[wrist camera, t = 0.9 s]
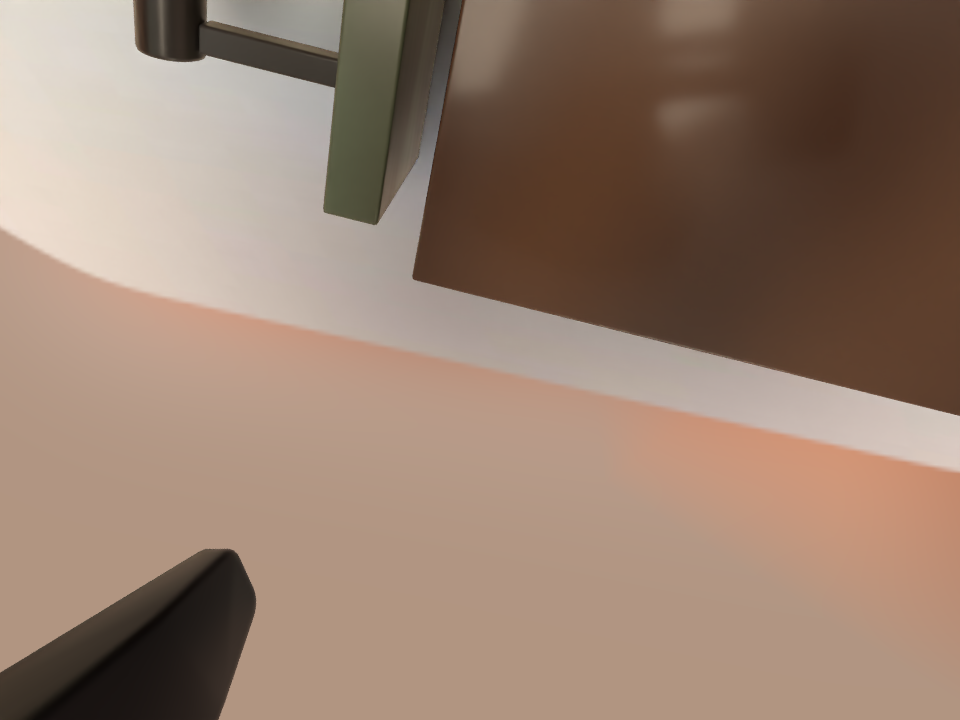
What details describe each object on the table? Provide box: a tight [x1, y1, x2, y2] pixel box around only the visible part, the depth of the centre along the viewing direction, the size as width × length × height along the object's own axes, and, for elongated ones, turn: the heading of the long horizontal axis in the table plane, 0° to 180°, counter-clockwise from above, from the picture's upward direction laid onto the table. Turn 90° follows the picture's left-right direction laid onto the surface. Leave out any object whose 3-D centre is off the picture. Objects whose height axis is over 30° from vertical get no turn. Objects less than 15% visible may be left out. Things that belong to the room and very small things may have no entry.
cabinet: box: [412, 0, 960, 416], centre depth 15 cm, size 13×11×6 cm
